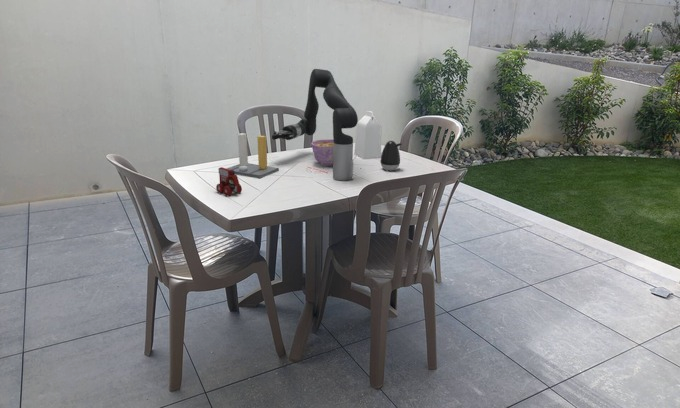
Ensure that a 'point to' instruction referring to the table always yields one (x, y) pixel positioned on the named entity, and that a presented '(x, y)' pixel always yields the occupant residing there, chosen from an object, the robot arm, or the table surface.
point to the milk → (368, 137)
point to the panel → (254, 170)
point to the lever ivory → (242, 149)
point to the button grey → (243, 168)
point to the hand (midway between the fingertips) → (273, 137)
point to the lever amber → (262, 152)
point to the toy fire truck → (228, 182)
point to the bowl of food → (323, 151)
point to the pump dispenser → (390, 156)
